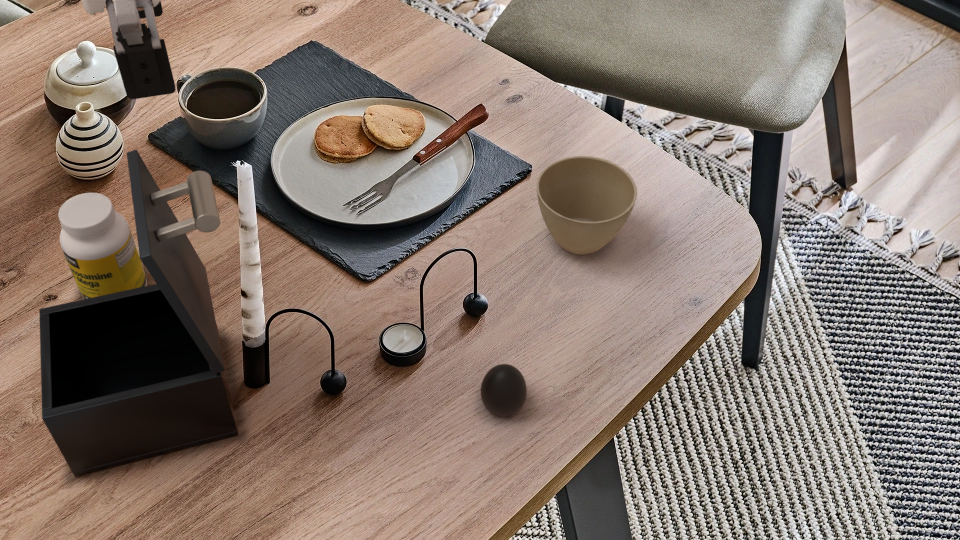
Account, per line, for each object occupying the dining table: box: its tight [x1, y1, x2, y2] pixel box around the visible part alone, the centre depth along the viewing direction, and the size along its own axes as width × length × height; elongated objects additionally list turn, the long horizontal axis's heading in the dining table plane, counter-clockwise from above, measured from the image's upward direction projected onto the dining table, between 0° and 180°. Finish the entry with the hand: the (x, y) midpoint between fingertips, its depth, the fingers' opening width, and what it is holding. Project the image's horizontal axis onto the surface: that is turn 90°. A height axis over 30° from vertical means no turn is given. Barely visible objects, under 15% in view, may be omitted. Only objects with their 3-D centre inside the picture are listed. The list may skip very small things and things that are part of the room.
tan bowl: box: [536, 155, 638, 256], centre depth 97 cm, size 10×10×7 cm
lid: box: [126, 149, 225, 373], centre depth 74 cm, size 14×12×5 cm
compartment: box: [38, 283, 240, 478], centre depth 81 cm, size 14×12×9 cm
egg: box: [480, 363, 528, 417], centre depth 83 cm, size 4×4×5 cm
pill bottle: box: [57, 192, 148, 300], centre depth 89 cm, size 6×6×11 cm
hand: (146, 53), depth 67 cm, fingers open, 9 cm apart
